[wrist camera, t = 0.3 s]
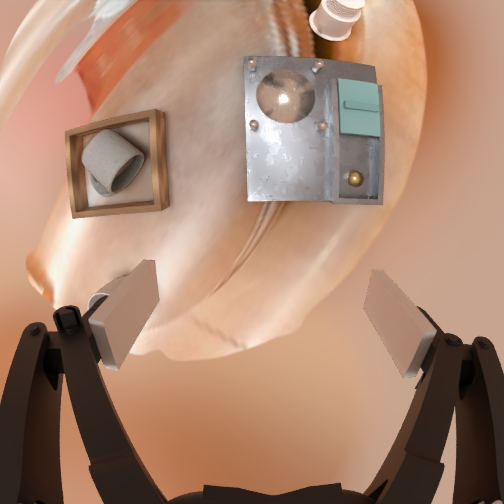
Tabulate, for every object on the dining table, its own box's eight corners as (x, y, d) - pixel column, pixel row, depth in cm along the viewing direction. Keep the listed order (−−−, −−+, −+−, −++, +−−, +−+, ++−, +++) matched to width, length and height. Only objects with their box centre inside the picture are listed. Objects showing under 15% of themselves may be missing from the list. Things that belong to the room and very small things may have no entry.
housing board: (244, 61, 34) (242, 49, 29) (370, 69, 33) (382, 61, 28) (248, 199, 41) (247, 205, 36) (373, 200, 41) (385, 205, 36)
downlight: (332, 50, 32) (353, 24, 23) (298, 24, 31) (310, -8, 21) (359, 28, 31) (383, 2, 21) (327, 3, 29) (344, -27, 20)
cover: (335, 80, 32) (340, 76, 29) (373, 86, 31) (380, 82, 29) (337, 133, 34) (343, 132, 32) (376, 137, 34) (383, 136, 32)
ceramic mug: (117, 126, 37) (91, 124, 30) (151, 152, 39) (130, 154, 32) (87, 178, 40) (61, 185, 33) (119, 205, 42) (95, 216, 35)
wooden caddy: (78, 131, 37) (65, 131, 33) (164, 112, 37) (155, 109, 33) (84, 213, 42) (72, 218, 38) (169, 206, 42) (161, 211, 38)
